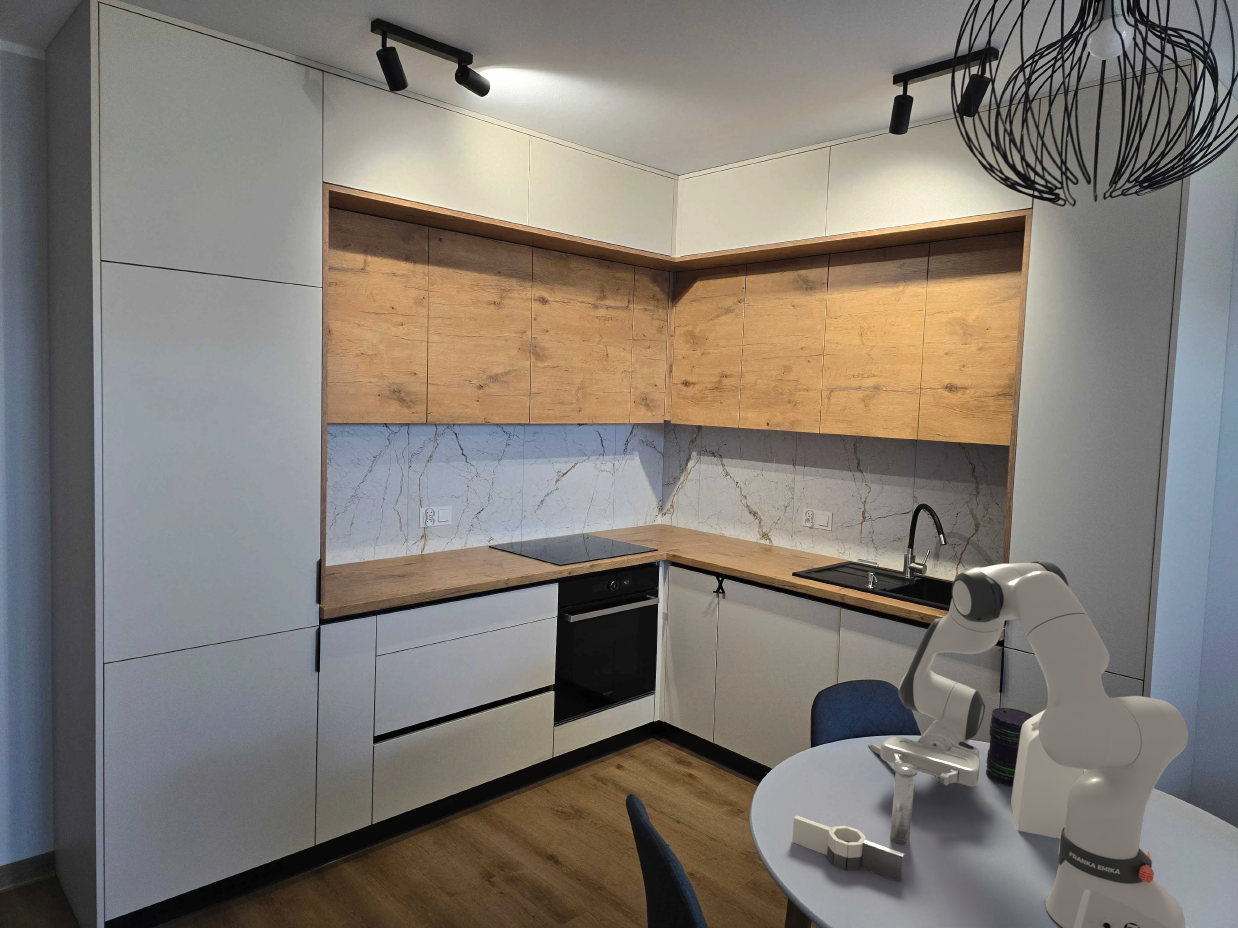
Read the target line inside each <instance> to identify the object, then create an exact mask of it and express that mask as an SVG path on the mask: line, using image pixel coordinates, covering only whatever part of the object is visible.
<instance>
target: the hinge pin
mask: <svg viewBox="0 0 1238 928" xmlns="http://www.w3.org/2000/svg"><path fill="white" fill-rule="evenodd" d="M893 770H894V772H895V774H894V775H895V777H894V778H895V779H894V787H893V800H892V801H893V802H892V813H891V823H890V825H891V826H890V835H889V838H890V841H891V842H892V843H894V844H896V845H898V846H899V845H901V846H907V845H908V844H910V836H911V826H912V825H911V824H912V814H913V802H914V801H913V800H914V790H915V789H914V788H915V777H916V775H918V772H919V771H918V769H917V768H916V767H915V766H913V765H911V764H908V763H896V764H895V765H894V764H893Z"/></svg>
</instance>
